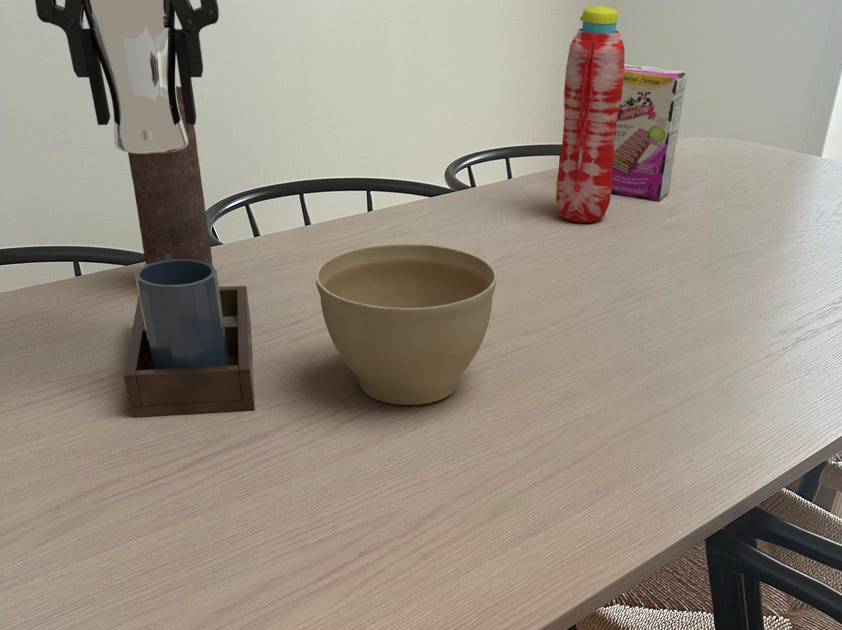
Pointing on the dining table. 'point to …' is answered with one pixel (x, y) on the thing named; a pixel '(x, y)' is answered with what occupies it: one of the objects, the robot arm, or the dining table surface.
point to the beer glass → (139, 72)
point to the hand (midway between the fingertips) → (148, 120)
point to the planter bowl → (406, 316)
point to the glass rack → (195, 369)
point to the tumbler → (182, 314)
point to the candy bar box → (647, 131)
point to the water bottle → (590, 117)
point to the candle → (171, 201)
